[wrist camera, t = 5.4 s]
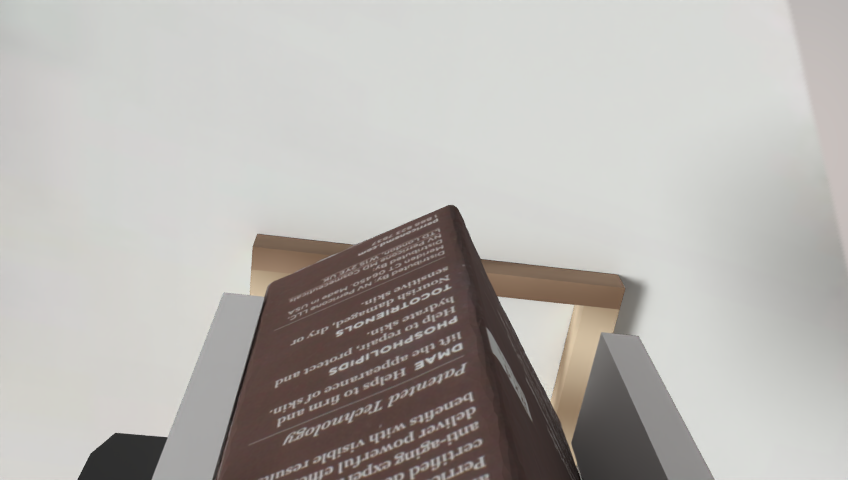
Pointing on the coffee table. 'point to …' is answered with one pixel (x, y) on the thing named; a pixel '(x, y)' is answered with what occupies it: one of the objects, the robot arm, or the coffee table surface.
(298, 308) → the box
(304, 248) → the two-pane wooden frame
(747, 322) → the coffee table surface
